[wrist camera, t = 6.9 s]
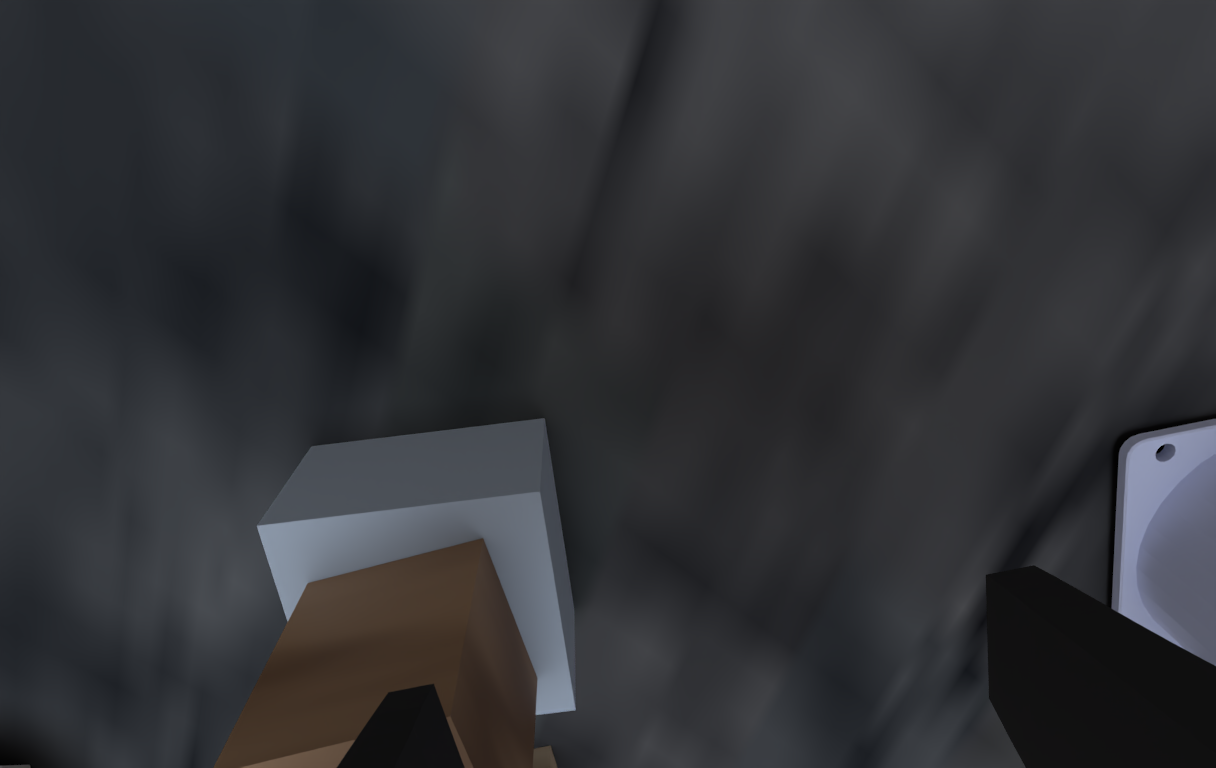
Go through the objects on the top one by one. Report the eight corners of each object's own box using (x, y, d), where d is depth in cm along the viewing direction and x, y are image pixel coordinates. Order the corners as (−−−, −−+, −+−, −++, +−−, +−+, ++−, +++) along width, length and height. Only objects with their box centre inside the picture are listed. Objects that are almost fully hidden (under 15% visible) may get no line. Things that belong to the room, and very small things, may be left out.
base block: (545, 414, 20) (540, 491, 17) (574, 604, 22) (575, 710, 19) (313, 442, 20) (256, 526, 16) (366, 630, 22) (326, 740, 19)
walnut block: (537, 678, 18) (526, 884, 14) (375, 717, 19) (310, 934, 14) (483, 538, 17) (450, 716, 12) (307, 582, 17) (210, 774, 12)
